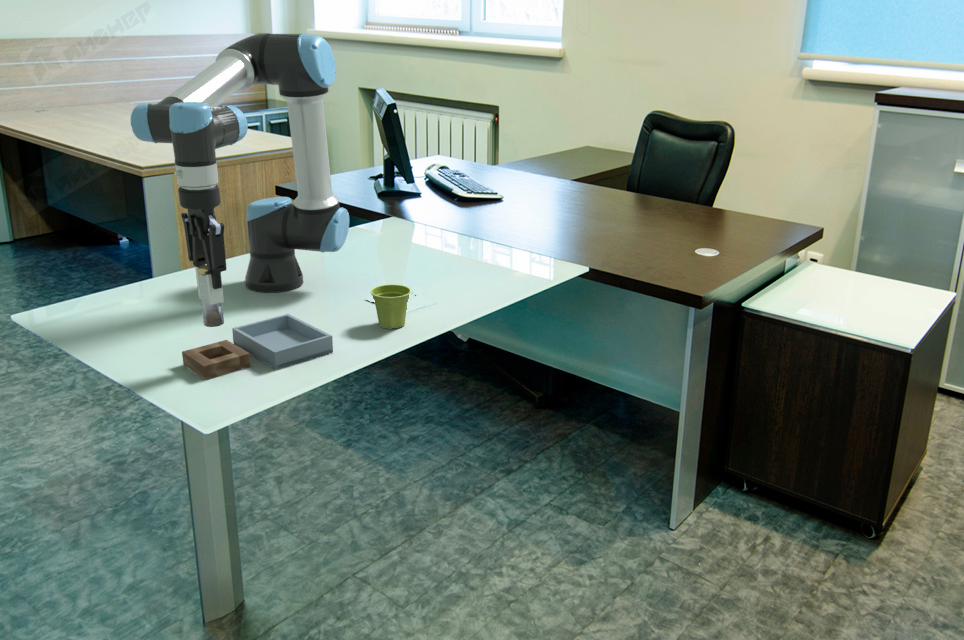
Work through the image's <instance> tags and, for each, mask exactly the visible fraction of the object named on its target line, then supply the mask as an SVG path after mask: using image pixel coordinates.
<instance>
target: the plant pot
mask: <svg viewBox="0 0 964 640" xmlns="http://www.w3.org/2000/svg"><path fill="white" fill-rule="evenodd" d="M410 293H412V289H411V288H410V287H408V286H406V285H403V284H396V283H395V284H392V283H391V284H382V285H379V286H374V287H373V288H372V289H371V290H370V294H371V296H373V299H374V300H375V304H374V306H375V309H376V315H377V316H376V317H377V320H378V321H377V322H378V325H379V326H380V328H382V327H384V328H383V329H385V328H393V329H398V328H397V327H401V326H403V325H404V324H406V319H407V318H406V316H407V313H406V310H407V302H408V299H409V294H410ZM404 326H405V325H404ZM404 326H403V327H404ZM401 328H402V327H401Z"/></svg>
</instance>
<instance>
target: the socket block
mask: <svg viewBox="0 0 964 640" xmlns="http://www.w3.org/2000/svg"><path fill="white" fill-rule="evenodd" d="M181 354H182V355H181V357H182V364H183V366H184V367H186V368H187V369H189V370H190V371H192V372H193V373H194V374H196V375H197V376H199V377H200V378H201V379H203V380H205V381H207V380H210V379H214V378H217V377H221V376H224V375H228V374H231V373H235V372H238V371H241V370H244V369H248V368H251V367H252V365H251V363H252V362H251V355H250V353H248V352H246V351H245V350H243V349H241V348H240V347H238V346H236V345H235V344H234V342H231V341H229V340H228V339H224V340H221V341H220V340H219V341H217V342H213V343H210V344H206V345H201V346H199V347H194V348H190V349H187V350H183V351H181Z"/></svg>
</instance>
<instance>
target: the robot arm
mask: <svg viewBox="0 0 964 640" xmlns="http://www.w3.org/2000/svg"><path fill="white" fill-rule="evenodd" d="M336 73H337V66H336V61H335V56H334V52H333V50H332V48H331V45H330V44H329V43H328V42H327V40H326V39H324V37H322V36H319V35H314V34H307V33H269V32H268V33H267V32H265V33H264V32H263V33H257V34H256V33H255V34H253V35H250V36H247V37H245V38H243V39H240V40H238V41H236V42H235V43H232V44H230V45H229V46H228V47H226V48H225V49H223V50H222V51H220V52H219V53H218V54H217V56H216V58H215V62H213V63H212V64H210V65H209V66H208V67H206V68H205V69H204V70H202V71H201V72H199V73H198V74H197V75H195V76H194V77H192V78H191V79H190V80H188V81H187V82H186V83H184V84H183V85H181V87H178V88H177V89H176V90H174V91H173V92H171V94H169V95H167V96H166V97H164V99H162V100H161V101H158V102H157V103H156V104H154V103H153V104H152V103H144V104H143V103H141V104H138V105H136V106H135V107H134V108H133V109H132V112H131V114H130V127H131V128H132V133H133V135H134V136H135V137H136V138H137V139H138V140H140V141H143V142H147V143H154V144H172V149H173V150H172V151H173V154H174V155H173V156H174V166H175V171H174V176H175V177H176V181H177V185H178V186H179V188H178V190H177V192H178V200H179V201H178V202H179V206H180V207H181V208H182V209H187V212H182V213H181V215H180V216H181V219H182V223H183V227H184V233H185V234H184V235H185V242H186V249H187V250H186V251H187V256H188V260H189V262H192V265H193V267H194V268H195V277H196V286H197V294H198V298H199V299H200V300H201V297H200V288H199V280H198V272H197V268H198V267H199V266H202V265H207V268H208V271H206V272H205V274H206V277H207V285H208V294H209V303H210V304H211V305H213V304H217V303H221V302H222V303H225V298H224V289H223V281H222V272H226V271H227V260H226V259H227V257H226V249H225V248H226V246H225V235H224V234H225V224H224V222H220V223H219V222H218V221H217V215H216V213H215V210H214V209H216V207H218V206H220V204H221V193H220V187H219V185H217V184H218V183H219V182H220V181H219V174H218V172H219V171H218V162H217V158H216V157H217V156H216V149H220V148H223V147H227V146H233V145H235V144H236V143H237V142H240V141H241V140H243V139H244V138H245V137H246V135H247V133H248V126H249V125H248V120H247V117H246V115H245V114H244V113H243V111H242V110H241V109H239V108H238V107H236V106H234V105H221V104H222V103H223V102H224V101H226V100H227V99H228V98H230V97H231V96H232V95H233V94H234V93H236V92H237V91H243V90H247V89H248V88H250V87H251V86H253V85H254V86H255V85H270V86H271V85H273V86H278V91H279V92H278V93H279V96H280V97H281V98H282V99H284V100H285V101H286V105H287V106H286V107H287V114H288V123H289V130H290V138H291V146H292V155H293V163H294V171H295V179H296V188H297V196H296V198H294V200H293V199H292V198H290V197H289V196H276V197H275V196H274V197H268V198H262V199H258V200H255V201H253V202H250V203H249V204H248V205H247V207H246V220H245V221H246V224H247V235H248V245H249V247H248V248H249V256H250V257H249V261H248V266H247V270H246V274H245V277H244V278H245V279H244V280H245V287H246V288H247V289H248V290H251V291H252V292H253V291H254V292H257V293H258V292H259V293H282V292H287V291H291V290H296V289H297V288H299V287H301V286H303V284H304V274H303V272H302V270H301V267H300V265H299V262H298V260H297V258H296V252H295V251H296V250H299V251H308V252H309V251H312V252H320V253H335V252H338V251H340V250H341V248H342V247H343V246H344V245H345V242H346V240H347V237H348V234H349V229H350V215H349V214H350V213H349V212H348V210H347V209H346V208H344V207H340V200H339V199H340V198H339V197H338V196H337V195H335V194H334V193H333V187H332V178H331V169H330V158H329V157H330V156H329V147H328V137H327V127H326V116H325V110H324V109H325V107H324V99H325V97H326V96H327V95H328V94H329V87H331V86H333V84H334V83H335V80H336V75H335V74H336Z"/></svg>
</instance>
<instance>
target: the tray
mask: <svg viewBox="0 0 964 640" xmlns="http://www.w3.org/2000/svg"><path fill="white" fill-rule="evenodd" d="M231 329H232V330H231V331H232V340H233V342H232V343H233V344H235V345H236V346H238V347H240V348H241V349H243V350H245V351H246V352H248V353H250V357H253V358H255V359H256V360H258V361H260V362H261V363H263V364H265V365H267V366H268V367H270V368H272V369H274V370H275V371H278V370H281V369H284V368H285V369H286V368H288V367H291V366H294V365H297V364H300V363H305V362H308V361H311V360H314V359H317V358H316V357H318V358H321V357H324V356H326V355H325V354H327V355H330V354H329V353H331V354H333V353H334V346H333V344H334V343H333V341H334V340H333V335H332V334H329V333H328V332H325V331H324V330H322V329H321V328H318V327H315V326H314V325H311V324H310V323H308V322H305V321H303V320H301V319H299V318H297V317H296V316H294V315H291V314H289V313H286V314H282V315H278V316H274V317H271V318H267V319H263V320H258V321H256V322H251V323H247V324H244V325H240V326H236V327H231ZM332 352H333V353H332ZM323 355H324V356H323ZM320 356H321V357H320Z"/></svg>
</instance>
